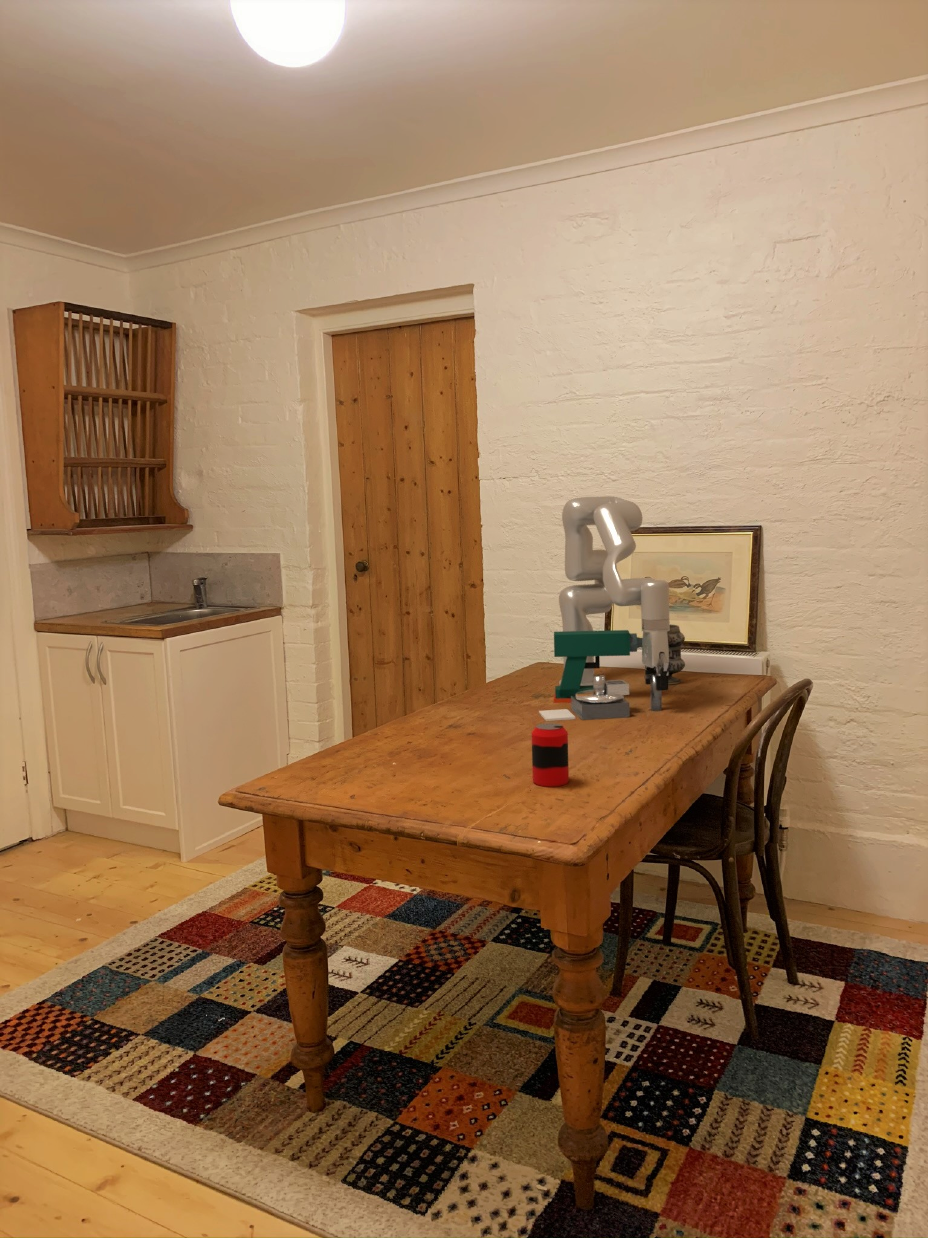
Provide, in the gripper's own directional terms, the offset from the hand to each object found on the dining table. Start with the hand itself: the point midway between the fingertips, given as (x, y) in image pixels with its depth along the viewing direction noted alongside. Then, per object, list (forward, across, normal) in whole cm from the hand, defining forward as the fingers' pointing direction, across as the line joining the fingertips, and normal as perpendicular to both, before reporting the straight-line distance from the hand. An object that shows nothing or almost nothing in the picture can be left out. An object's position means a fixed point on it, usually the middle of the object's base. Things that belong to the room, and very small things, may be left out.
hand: (656, 687), depth 263 cm
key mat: (+6, 0, -28) cm, 29 cm away
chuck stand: (+6, 0, -16) cm, 17 cm away
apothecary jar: (+6, -37, +15) cm, 41 cm away
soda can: (+7, +59, -42) cm, 73 cm away
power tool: (+6, -17, -9) cm, 21 cm away
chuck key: (+6, 0, 0) cm, 7 cm away
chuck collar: (+2, 0, -16) cm, 16 cm away
